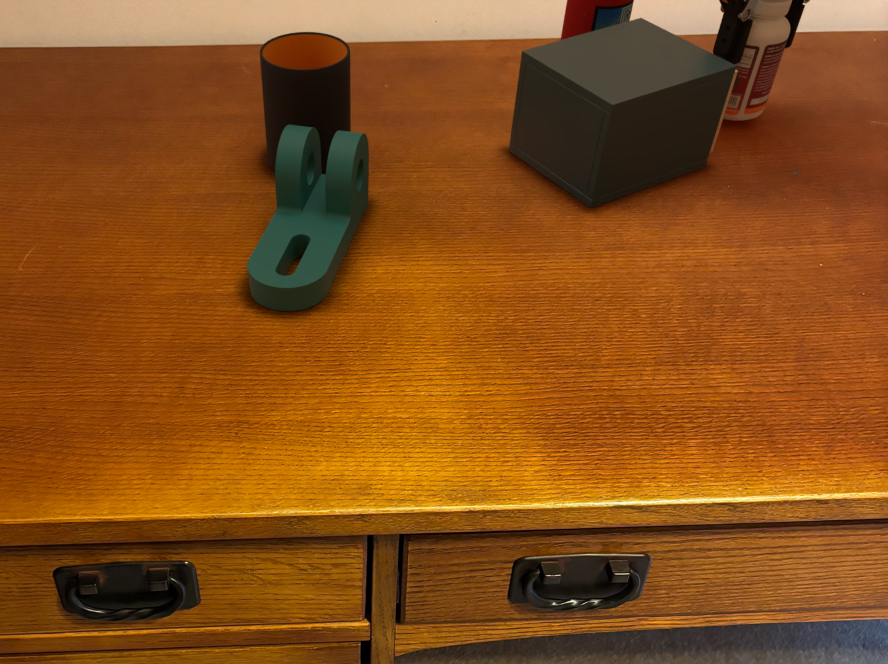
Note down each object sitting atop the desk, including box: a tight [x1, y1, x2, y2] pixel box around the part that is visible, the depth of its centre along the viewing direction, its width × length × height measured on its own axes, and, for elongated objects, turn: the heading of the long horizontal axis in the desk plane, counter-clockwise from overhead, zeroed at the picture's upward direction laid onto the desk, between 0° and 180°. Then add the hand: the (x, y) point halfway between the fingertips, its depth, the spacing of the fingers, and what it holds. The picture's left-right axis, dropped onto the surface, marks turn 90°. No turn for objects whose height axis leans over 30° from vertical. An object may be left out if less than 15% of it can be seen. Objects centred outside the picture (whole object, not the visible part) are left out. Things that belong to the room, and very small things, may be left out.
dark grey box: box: [508, 17, 737, 209], centre depth 87 cm, size 15×13×10 cm
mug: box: [259, 31, 352, 175], centre depth 88 cm, size 8×12×10 cm
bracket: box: [247, 125, 370, 312], centre depth 78 cm, size 18×7×8 cm, turn 166°
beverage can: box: [560, 0, 635, 40], centre depth 97 cm, size 7×7×12 cm
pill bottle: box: [723, 0, 792, 122], centre depth 91 cm, size 6×6×11 cm
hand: (751, 49), depth 91 cm, fingers closed on pill bottle, 6 cm apart
